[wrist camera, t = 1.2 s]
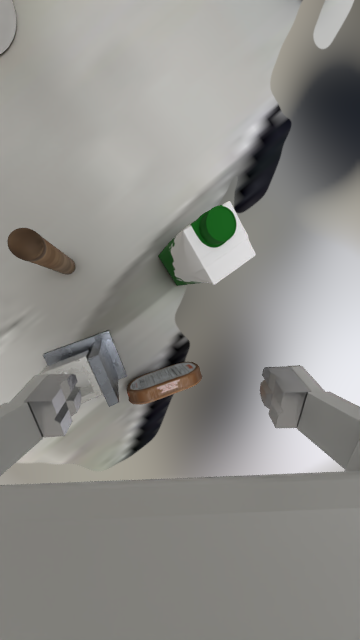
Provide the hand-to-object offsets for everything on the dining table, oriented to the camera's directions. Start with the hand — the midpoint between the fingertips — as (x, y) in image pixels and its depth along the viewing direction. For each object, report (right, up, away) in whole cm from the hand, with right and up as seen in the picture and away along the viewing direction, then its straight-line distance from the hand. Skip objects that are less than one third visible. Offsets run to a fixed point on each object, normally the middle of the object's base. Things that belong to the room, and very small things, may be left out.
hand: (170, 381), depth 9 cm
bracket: (-18, -6, +32) cm, 37 cm away
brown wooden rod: (-20, +13, +29) cm, 37 cm away
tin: (-4, -9, +37) cm, 38 cm away
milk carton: (+1, +15, +35) cm, 38 cm away
